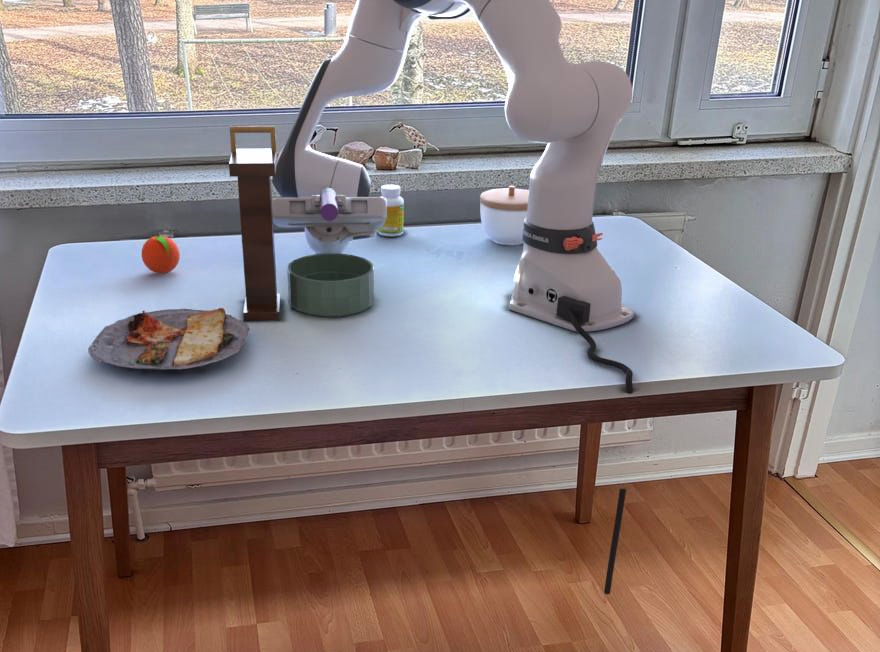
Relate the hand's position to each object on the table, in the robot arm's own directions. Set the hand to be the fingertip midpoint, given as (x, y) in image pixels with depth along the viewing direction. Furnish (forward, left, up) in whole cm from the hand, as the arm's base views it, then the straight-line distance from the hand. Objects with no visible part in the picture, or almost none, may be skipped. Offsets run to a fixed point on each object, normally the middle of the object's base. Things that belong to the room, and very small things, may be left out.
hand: (328, 199), depth 167 cm
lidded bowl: (+10, -49, -18) cm, 53 cm away
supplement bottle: (+27, -31, -18) cm, 45 cm away
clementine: (+29, +19, -18) cm, 39 cm away
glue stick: (-1, +1, -2) cm, 2 cm away
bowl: (-1, +1, -18) cm, 18 cm away
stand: (+2, +13, -18) cm, 22 cm away
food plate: (-5, +32, -18) cm, 37 cm away
